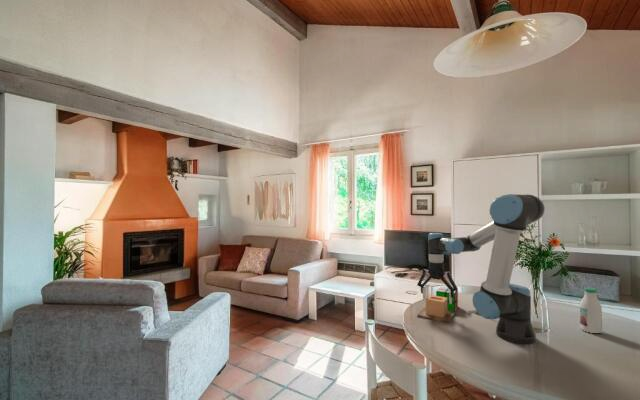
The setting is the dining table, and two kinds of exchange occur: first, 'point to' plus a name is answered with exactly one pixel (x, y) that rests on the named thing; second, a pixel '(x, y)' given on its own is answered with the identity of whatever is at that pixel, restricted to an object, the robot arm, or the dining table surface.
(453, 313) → the key base
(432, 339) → the dining table surface
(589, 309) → the milk bottle
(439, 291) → the puzzle cube
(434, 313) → the orange hollow rectangular tube
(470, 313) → the folded banknote origami
